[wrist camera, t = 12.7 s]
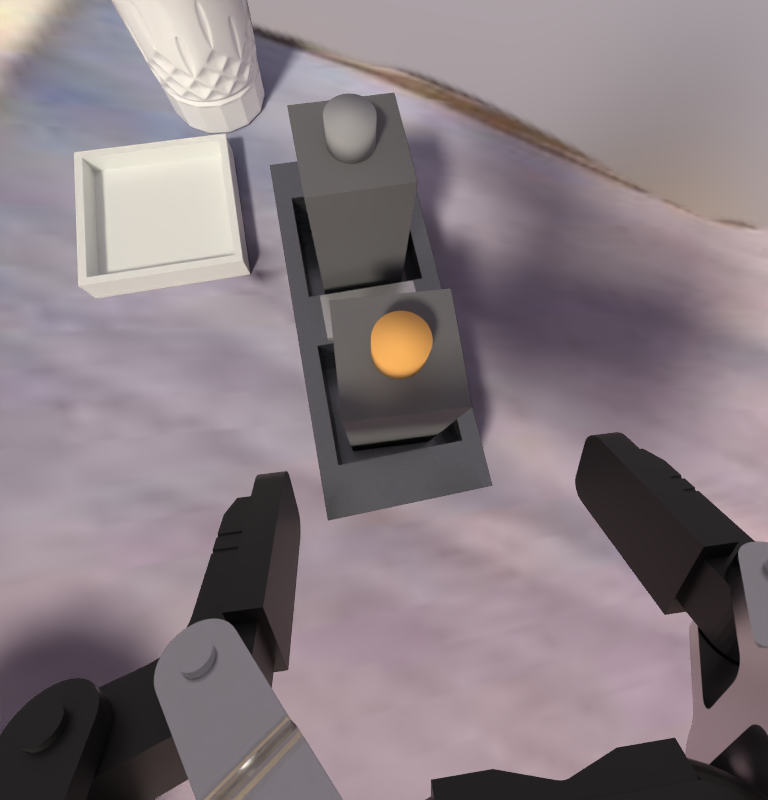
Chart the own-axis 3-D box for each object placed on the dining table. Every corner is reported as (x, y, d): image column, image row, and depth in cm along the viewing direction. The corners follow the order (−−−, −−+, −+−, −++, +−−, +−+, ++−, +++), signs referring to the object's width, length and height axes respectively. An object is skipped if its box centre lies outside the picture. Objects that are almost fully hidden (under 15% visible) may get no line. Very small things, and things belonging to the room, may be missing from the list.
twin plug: (329, 313, 25) (298, 173, 14) (317, 251, 26) (280, 74, 15) (398, 301, 25) (421, 156, 14) (384, 241, 26) (396, 62, 15)
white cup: (294, 102, 30) (257, -87, 20) (211, 160, 28) (129, -15, 18) (227, 42, 31) (162, -166, 21) (145, 95, 29) (33, -103, 19)
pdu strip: (336, 514, 23) (327, 520, 18) (287, 223, 27) (268, 160, 22) (466, 486, 24) (494, 485, 18) (398, 207, 28) (405, 142, 23)
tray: (96, 298, 25) (78, 285, 24) (90, 171, 27) (74, 152, 26) (250, 274, 26) (242, 260, 25) (233, 153, 28) (225, 133, 27)
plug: (353, 451, 23) (339, 415, 12) (345, 378, 24) (325, 283, 13) (428, 441, 23) (482, 398, 12) (417, 370, 24) (458, 270, 13)
